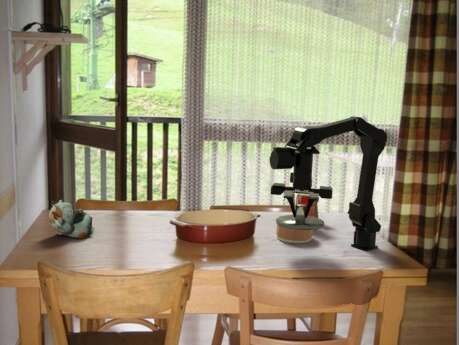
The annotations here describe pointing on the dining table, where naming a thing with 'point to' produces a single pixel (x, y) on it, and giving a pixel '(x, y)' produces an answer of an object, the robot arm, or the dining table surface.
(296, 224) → the lid
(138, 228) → the dining table surface
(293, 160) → the robot arm
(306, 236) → the bowl
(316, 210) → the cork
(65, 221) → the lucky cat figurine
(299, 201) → the soda can
